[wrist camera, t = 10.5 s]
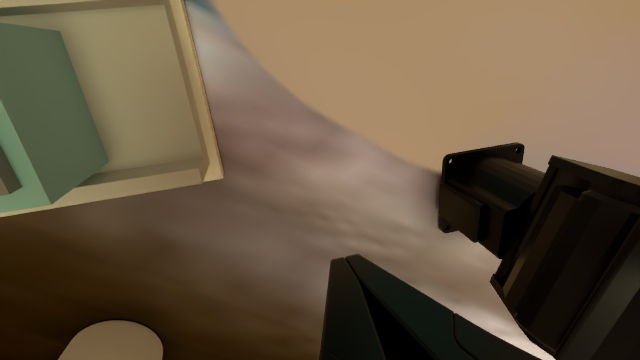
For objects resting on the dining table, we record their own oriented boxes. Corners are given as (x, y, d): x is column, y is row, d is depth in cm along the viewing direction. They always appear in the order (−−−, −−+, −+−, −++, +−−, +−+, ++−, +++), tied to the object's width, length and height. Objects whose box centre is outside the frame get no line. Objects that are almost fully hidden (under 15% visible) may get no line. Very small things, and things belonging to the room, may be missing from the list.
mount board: (176, -32, 15) (150, -64, 11) (224, 173, 20) (217, 201, 16) (-169, -12, 13) (-348, -43, 9) (-30, 214, 17) (-112, 259, 13)
